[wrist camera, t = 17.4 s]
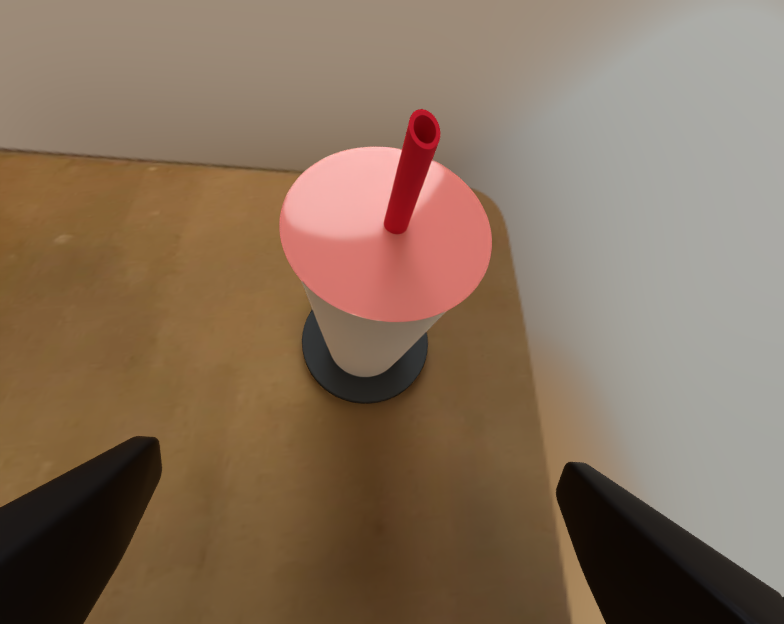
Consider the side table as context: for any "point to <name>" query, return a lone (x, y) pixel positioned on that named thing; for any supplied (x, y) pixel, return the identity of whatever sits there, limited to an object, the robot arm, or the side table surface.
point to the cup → (384, 245)
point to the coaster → (357, 386)
